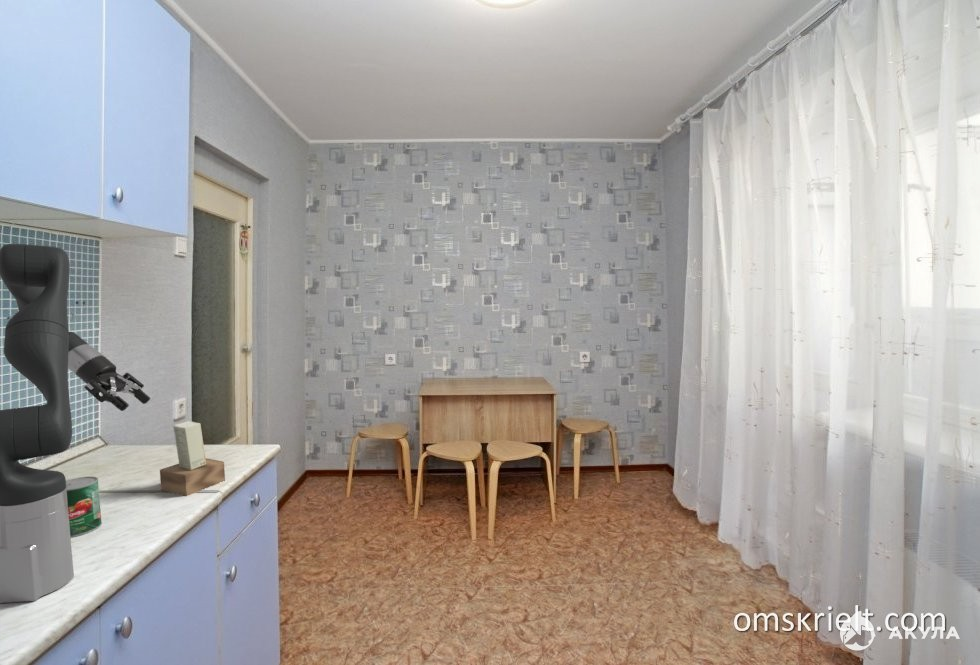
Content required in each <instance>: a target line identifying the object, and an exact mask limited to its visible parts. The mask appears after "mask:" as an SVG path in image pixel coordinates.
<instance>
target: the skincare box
mask: <svg viewBox="0 0 980 665" xmlns="http://www.w3.org/2000/svg"><path fill="white" fill-rule="evenodd" d="M172 426H173V427H172V428H173V432H174V438H175V446H176V451H177V457H178V458H177V459H178V464H179V466H180V467H183V468H186V469H189V470H193V469H195V468H198V467H201V466H203V465H205V464H206V451H205V446H204V440H203V439H204V438H203V433H202V426H201V423H200V422H195V421H191V420H187V421H184V422H181V423H177V424H174V425H172Z"/></svg>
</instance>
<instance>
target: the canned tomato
mask: <svg viewBox="0 0 980 665" xmlns="http://www.w3.org/2000/svg"><path fill="white" fill-rule="evenodd" d="M99 486H100V485H99V477H97V476H81V477H76V478H75V477H74V478H72V479H67V480H66V489H67V501H68V514H69V525H70V537H71V538H77V537H79V536H83V535H86V534H89V533H92V532H94V531H96V530H97V529H99V528H101V527H102V524H103V522H102V514H101V511H102V510H101V500H100V488H99Z"/></svg>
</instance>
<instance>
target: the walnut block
mask: <svg viewBox="0 0 980 665" xmlns="http://www.w3.org/2000/svg"><path fill="white" fill-rule="evenodd" d="M205 458H206V457H205ZM225 472H226V471H225V461H222V460H218V459H213V458H212V459H211V458H208V457H207V458H206V464H205V465H203V466H201V467H198V468H195V469H193V470H189V469H186V468H183V467H180V466H179V463H177V464H174V465H170V466H168V467H164V468H161V469H159V479H160V490H161V491H166V492H168V493H169V492H170V493H173V494H176V495H181V496H184V497H188V496H191V495H193V494H195V493H198V492H200V491H203V490H206V489H208V488H211V487H213V486H216V485H219V484H221V483H223V481H224V482H226V473H225ZM220 482H221V483H220ZM210 486H211V487H210ZM205 488H206V489H205Z"/></svg>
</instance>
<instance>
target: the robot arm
mask: <svg viewBox="0 0 980 665" xmlns="http://www.w3.org/2000/svg"><path fill="white" fill-rule="evenodd" d="M70 273H71V266H70V259H69V255H68V253H67V252H66V251H65V250H64V249H62V248H60V247H56V246H52V245H39V244H38V245H37V244H25V243H6V244H4V245H3V246H1V248H0V279H1V280H2V282H3V284H4V285H5V287H6V288H7V290H8V291H9V292H10V294H11V295H12V296H13V297H14V300H16V304H17V308H18V309H17V310H18V311H17V312H16V313H15V314H14V315H12V317H11V318H10V319H9V320H8V322H7V323H6V325H5V328H4V339H3V340H4V342H3V355H4V356H5V358H6V360H7V362H8V364H10V365H11V366H12V368H14V369H15V370H16V371H17V372H19V373H20V374H21V375H22V376H23V377H25V378H26V379H27V380H28V381H29V382H30V383H32V385H34V386H35V387H36V388H37V389H38V391H39V392H41V394H42V395H43V398H44V399H45V400H46V404H42V405H41V404H40V405H33V406H23V407H17V408H14V407H13V408H8V409H7V408H5V409H0V604H3V603H5V604H6V603H19V602H20V603H21V602H22V603H23V602H33V601H34V602H35V601H37V600H38V599H40V598H41V597H43V596H45V595H48V594H50V593H53V592H55V591H57V590H58V589H60V588H62V587H64V586H65V585H67V584H68V583H69V582H70V581H71V580H73V578H74V575H75V574H74V560H73V550H72V541H71V538H72V537H70V525H69V514H68V501H67V489H66V479H67V478H66V476H65V474H64V473H63V472H60V471H58V470H52V469H51V470H50V469H42V468H41V469H40V468H39V469H38V468H33V467H30V466H26V465H24V464H21V463H20V461H23V460H29V459H35V458H40V457H45V456H46V457H47V456H51V455H52V456H53V455H56V454H61V453H63V452H65V451H67V450H68V449H69V448H70V446H71V444H72V439H73V423H72V422H73V421H72V413H71V412H72V411H71V402H70V390H69V380H68V379H69V374H68V372H69V370H70V371H71V373H73V374H74V375H75V376H76V377H78V378H79V379H80V380H82V382H84V383H85V386H84V389H85V390H86V391H87V392H88V393H89V394H90V395H92V397H94V398H95V399H96V400H97V401H98V402H100V403H104V402H107V403H111V404H112V405H113V406H114V407H115V408H116V409H118V410H120V411H121V412H124V411H125V410H126V409H127V408H128V407H129V405H130V404H129V403H127V402H126V401H125V400H124V399H123V398H122V397H120V396H119V395H118V394H117V393H123V394H126V393H127V394H130V395H132V396H134V397H135V398H136V399H137V400H138V401H139V402H141V403H142V404H143V405H145V404H148V403H149V401H151V397H150V396H149V395H148V394H146V393H145V392H144V391H143V390H142V389H143V388H144V387H145V385H144V384H143V383H142V382H141V381H140V380H139V379H137V378H135V376H133V375H132V374H131V373H129V372H125V373H124V374H119V373H117V366H116V365H115V364H114V363H113V362H112V361H111V360H109V359H108V358H107V357H106V356H105V355H103V353H101V352H100V351H99V350H98V349H96V348H95V347H93V346H92V345H90V344H89V343H88V342H87V341H85V340H84V339H83V337H81V336H79V335H78V334H77V333H76V332H73V331H70V330H69V320H68V318H69V317H68V295H69V284H70ZM100 393H101V394H102V395H100Z"/></svg>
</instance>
